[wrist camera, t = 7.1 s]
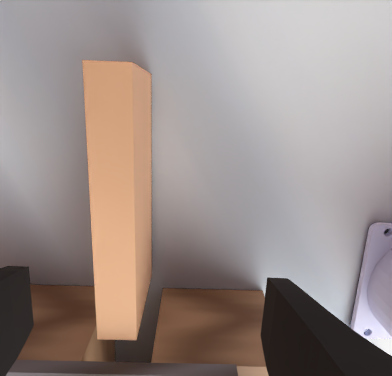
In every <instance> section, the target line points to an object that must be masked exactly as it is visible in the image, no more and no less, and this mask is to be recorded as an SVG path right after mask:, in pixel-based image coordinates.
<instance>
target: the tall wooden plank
mask: <svg viewBox="0 0 392 376" xmlns="http://www.w3.org/2000/svg"><path fill="white" fill-rule="evenodd" d="M82 63H83V82H84V100H85V119H86V138H87V156H88V175H89V194H90V212H91V231H92V250H93V268H94V287H95V306H96V324H97V339H104V340H137V336H138V332H139V328H140V324H141V319H142V315H143V311H144V307H145V302H146V298H147V294H148V290H149V285H150V281H151V277H152V150H151V73H149V72H147V71H146V70H144V69H143V68H141V67H139V66H138V65H136V64H135V63H133V62H119V61H93V60H82Z"/></svg>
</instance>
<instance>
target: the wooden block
mask: <svg viewBox="0 0 392 376" xmlns="http://www.w3.org/2000/svg"><path fill="white" fill-rule="evenodd" d="M30 288H31V299H32V310H33V321H34V326H33V328H32V330H31V333H30V335H29V337H28V339H27V341H26V343H25V345H24V346H23V348H22V350H21V352H20V354H19V356H18V358H17V359H16V361H15V362H14V364H13V365H12V367H11V368H10V370H9V371H8V373H7V374H6V376H269V375H268V372H267V368H266V363H265V358H264V353H263V347H262V341H261V335H260V334H261V326H262V318H263V310H264V302H265V297H264V294H263V291H257V290H218V289H180V288H163V291H162V297H161V304H160V310H159V316H158V322H157V329H156V335H155V341H154V347H153V354H152V360H151V363H145V362H116V358H115V340H104V339H97V324H96V306H95V287H94V286H63V285H30Z"/></svg>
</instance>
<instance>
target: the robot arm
mask: <svg viewBox="0 0 392 376" xmlns="http://www.w3.org/2000/svg"><path fill="white" fill-rule="evenodd" d="M386 229H389V231H388V233H386V234H384V231H385V230H386ZM33 326H34V321H33V310H32V299H31V288H30V278H29V267H18V266H7V267H4V268H0V376H6V374H7V373H8V371H9V370H10V368H11V367H12V365H13V364H14V362H15V361H16V359H17V358H18V356H19V354H20V352H21V350H22V348H23V346H24V345H25V343H26V341H27V339H28V337H29V335H30V333H31V330H32V328H33ZM366 329H368V330H367V331H365V330H366ZM364 331H365V332H364ZM260 335H261V341H262V347H263V353H264V358H265V363H266V368H267V372H268V375H269V376H392V356H391V355H389V354H387V353H386V352H384V351H383V350H381V349H380V348H378V347H377V346H375V345H374V344H372V343H371V342H369V341H368V340H367V339H365V338H372V339H392V223H380V222H378V223H374V224H372V225H371V226H370V228H369V230H368V236H367V241H366V246H365V252H364V257H363V262H362V268H361V273H360V278H359V284H358V289H357V294H356V299H355V305H354V310H353V315H352V321H351V326H350V327H348V326H347V325H346V324H344V323H343V322H342V321H340V320H339V319H338V318H337V317H335V316H334V315H333V314H331V313H330V312H329V311H328V310H326V309H325V308H324V307H323V306H321V305H320V304H319V303H318V302H316V301H315V300H314V299H313V298H312V297H310V296H309V295H308V294H307V293H305V292H304V291H303V290H302V289H301V288H299V287H298V286H297V285H296V284H294V283H293V282H292V281H290V280H289V279H285V278H267V285H266V294H265V302H264V310H263V318H262V326H261V334H260Z"/></svg>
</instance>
